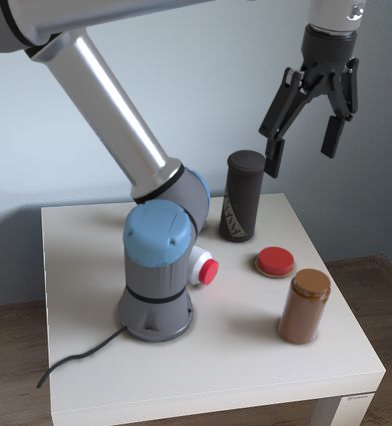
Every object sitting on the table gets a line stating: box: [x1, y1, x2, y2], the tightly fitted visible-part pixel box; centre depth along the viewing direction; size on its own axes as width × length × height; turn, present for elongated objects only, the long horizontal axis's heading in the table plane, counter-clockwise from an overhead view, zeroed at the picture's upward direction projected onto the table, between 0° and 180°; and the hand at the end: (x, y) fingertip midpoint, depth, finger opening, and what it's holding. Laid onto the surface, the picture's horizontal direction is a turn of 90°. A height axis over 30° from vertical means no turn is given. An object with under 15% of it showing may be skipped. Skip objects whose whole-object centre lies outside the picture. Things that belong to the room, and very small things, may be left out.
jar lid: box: [257, 246, 295, 275], centre depth 119 cm, size 8×8×2 cm
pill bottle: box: [186, 244, 220, 286], centre depth 113 cm, size 8×8×11 cm
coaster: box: [254, 255, 296, 280], centre depth 120 cm, size 9×9×1 cm
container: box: [218, 149, 266, 243], centre depth 120 cm, size 9×9×20 cm
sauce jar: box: [278, 268, 332, 345], centre depth 102 cm, size 8×8×14 cm
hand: (299, 164), depth 91 cm, fingers open, 13 cm apart
